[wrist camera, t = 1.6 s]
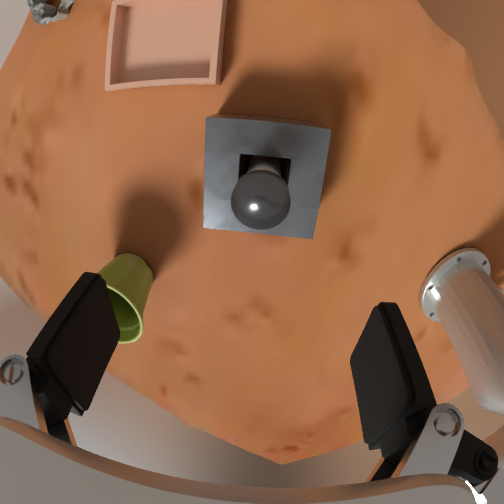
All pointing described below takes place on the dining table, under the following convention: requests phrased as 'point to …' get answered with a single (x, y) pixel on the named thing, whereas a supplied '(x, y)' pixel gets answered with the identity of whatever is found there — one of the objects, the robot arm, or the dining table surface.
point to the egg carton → (48, 10)
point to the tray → (165, 43)
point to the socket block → (264, 144)
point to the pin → (261, 194)
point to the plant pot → (128, 292)
